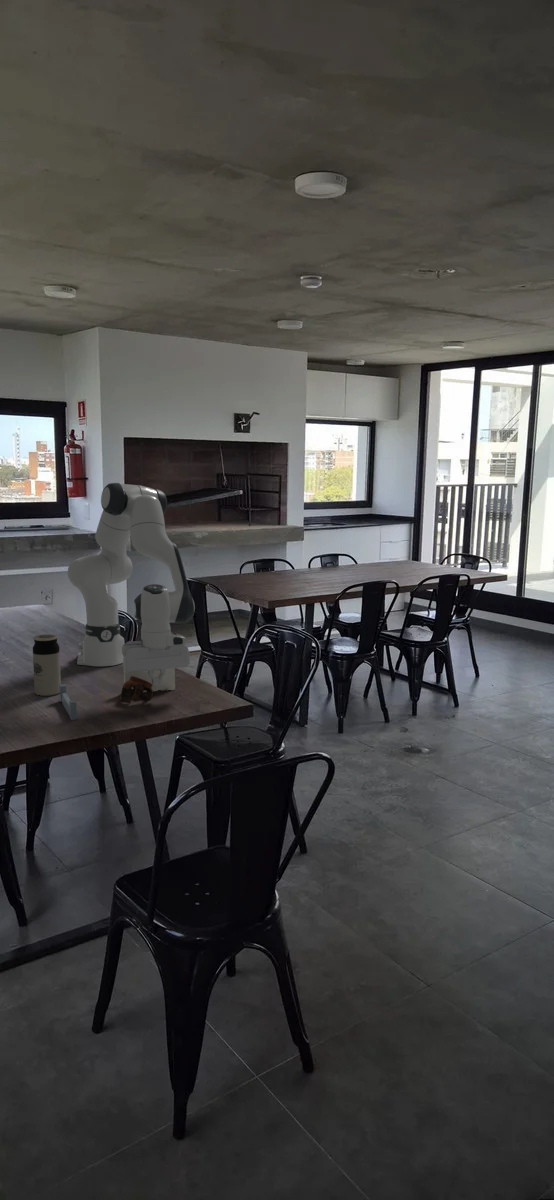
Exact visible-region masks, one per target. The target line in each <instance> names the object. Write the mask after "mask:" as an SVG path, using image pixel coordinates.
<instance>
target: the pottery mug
mask: <svg viewBox="0 0 554 1200" xmlns="http://www.w3.org/2000/svg"><path fill="white" fill-rule="evenodd" d="M152 685H153V684H151V683H149V682H147V681H145V680H143V679H140V678H138V677H134V676H131V678H130V680H128V681H126V682H125V683H124V682H123V685H122V688H121V692H120V694H119V701H121V702H123V703H126V704H131V701H133V702H140V701H141V699H142V695H143V693H144V692H143V691H144V690H145V691H148V692H147V693H149V698H151V699H152V698H153V693H154V691H152V688H151V687H152ZM132 687H133V689H132Z"/></svg>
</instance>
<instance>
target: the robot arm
mask: <svg viewBox="0 0 554 1200" xmlns="http://www.w3.org/2000/svg"><path fill="white" fill-rule="evenodd" d="M100 496H101V497H100V504H101V508H102V509H103V510H102V512H101V515H100V518H99V522H98V524H97V528H96V530H95V535H94V538H95V541H96V543H97V545H99V547H100V548H101V551H100V553H99V554H96V555H95V554H94V555H86V556H82V557H79V558H77V559H74V560H72V561H70V563H69V565H68V568H67V577H68V579H69V582H70V583H71V584H72V585H73V586H74V587H75V588H77V589H78V590H79V592H80V594H81V595H82V598H83V599H84V600H83V601H84V604H85V614H86V616H85V617H86V624H85V636H84V639H83V640H82V642H80V643H78V650H79V651H80V652H78V653H77V662H76V663H77V664H76V665H81V666H87V667H88V666H90V667H110V666H111V667H112V666H116V665H117V666H118V665H120V664H122V670H123V671H124V670H125V671H126V672H127V673H131V672H140V671H148V673H149V675H150V676H151V678H152V684H161V683H162V678H163V676H164V674H165V673H166V669H170V668H175V669H177V668H178V669H179V668H187V667H188V666H189V665H190V663H191V660H190V659H191V657H190V650H189V647H188V646H187V645H186V643H187V638H186V637H185V636H184V635H182V634H180V633H176V632H172V631H171V629H172V628H171V624H170V623H176V624H186V623H188V622H189V621H190V620H192V618H193V616H194V615H195V609H196V607H195V606H196V605H195V601H194V599H193V596H192V593H191V590H190V585H189V583H188V579H187V575H186V573H185V572H186V571H185V568H184V564H183V561H182V557H181V553H180V551H179V547H178V546H177V544H176V543H174V542H173V541H172V540H170V538H169V537H168V535H167V532H166V525H165V522H166V521H165V516H164V515H165V514H166V511H167V509H168V508H167V507H168V499H167V496H166V493H164V491H162V490H160V489H157V488H155V487H154V488H153V487H148V486H144V485H140V484H128V483H127V484H126V483H119V482H110V483H107V485H106V486H105V487H104V488H103V490H102V492H101V495H100ZM129 537H130V538H129ZM129 539H130V540H131V545H132V546H133V548H134V550H135V551H137V552H138V553H139V554H141V556H142V555H143V556H144V557H147V558H149V559H153V560H154V561H155V560H156V561H158V562H160V563H162V564H164V565H165V566H166V567H168V569H169V571H170V574H171V579H172V582H173V585H174V589H175V590H174V591H169V590H168V587H166V586H165V585H163V584H156V583H153V584H148V585H145V586H143V587H142V591H141V593H139V595H137V596H136V597H135V599H134V607H135V608H134V609H135V612H134V618H135V619H136V620H138V621H139V622H140V623H142V624H141V627H140V639H141V640H135V641H134V640H131V641H130V640H128V641H127V642H126V643H125V638H124V637H123V636H122V635H121V625H120V623H119V605H118V602H117V600H116V599H115V598H114V597H113V596H111V595H109V592H108V590H107V586H109V585H113V584H114V585H116V584H119V583H122V582H125V581H126V580H128V579H130V578H131V576H132V574H133V571H134V567H133V562H132V559H131V558H130V557H129V556H128V555H127V545H128V540H129ZM154 670H159V671H160V674H159V676H158V677H154V676H153V674H154ZM152 673H153V674H152Z"/></svg>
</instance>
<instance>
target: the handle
mask: <svg viewBox="0 0 554 1200" xmlns="http://www.w3.org/2000/svg"><path fill="white" fill-rule="evenodd" d="M59 700H60V701H59V702H60V703H61V702H62V703H61V704H62V705H63V707H64V709H65V711H66V713H67V714H68V716H69V719H70V720H71V721H76V719H77V720H78V710H77V709H78V708H77V701H76V700H71V699H70V697H69V695H68V694H67V685H66V684H65V683H63V684H62V683H61V685H60V693H59Z"/></svg>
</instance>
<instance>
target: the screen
mask: <svg viewBox="0 0 554 1200" xmlns="http://www.w3.org/2000/svg"><path fill="white" fill-rule="evenodd" d="M152 674H153V673H152ZM159 674H160V671H159V670H154V674H153V676H154V677H158V676H159ZM131 676H134V677H138V678H140V679H143V680H145V681H147V682H149V683H151V684H152V678H151V676H150V675H149V673H148V671H140V672H131V673H127V672H126V671H125V670H124V669H123V684H124V683H125V682H126V681H128V680H130V678H131ZM151 688H152V691H153V692H158V690H161V691H168V690H171V691H175V690H176V668H170V669H166V673H165V674H164V676H163V678H162V683H161V684H153V685H152V687H151ZM132 689H133V687H132ZM143 693H148V692H147V691H145V690H144V691H143Z"/></svg>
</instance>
